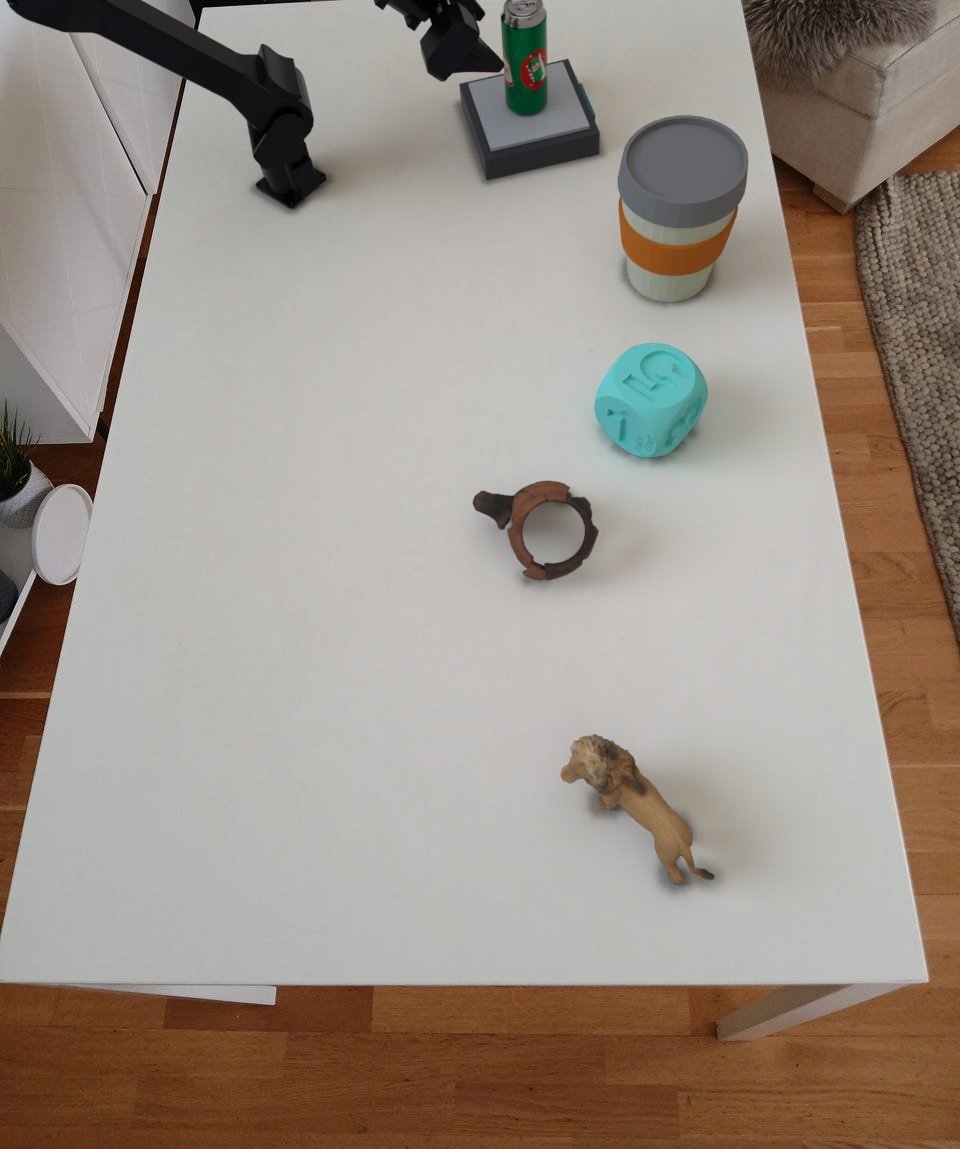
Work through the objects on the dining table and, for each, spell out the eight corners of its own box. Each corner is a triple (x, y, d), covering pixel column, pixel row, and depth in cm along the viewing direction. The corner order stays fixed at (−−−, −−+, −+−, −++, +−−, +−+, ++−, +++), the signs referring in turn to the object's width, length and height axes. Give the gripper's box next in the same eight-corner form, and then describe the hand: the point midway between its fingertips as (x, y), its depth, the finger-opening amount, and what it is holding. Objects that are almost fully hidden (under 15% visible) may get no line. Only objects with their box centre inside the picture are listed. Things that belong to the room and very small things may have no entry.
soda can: (507, 90, 111) (501, -10, 100) (548, 89, 110) (547, -11, 99) (504, 118, 109) (498, 20, 98) (546, 118, 108) (545, 19, 97)
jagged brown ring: (597, 495, 90) (614, 494, 82) (572, 587, 91) (587, 595, 83) (480, 463, 89) (486, 459, 81) (456, 556, 90) (459, 562, 82)
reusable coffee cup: (748, 264, 101) (778, 149, 87) (678, 334, 97) (697, 226, 84) (658, 212, 105) (673, 95, 91) (587, 277, 102) (592, 166, 88)
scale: (486, 180, 109) (484, 156, 106) (461, 104, 115) (458, 79, 112) (604, 153, 110) (605, 128, 107) (572, 79, 116) (573, 53, 113)
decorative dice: (591, 428, 93) (594, 380, 86) (640, 379, 95) (647, 328, 88) (653, 471, 90) (661, 425, 83) (703, 419, 92) (715, 370, 85)
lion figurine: (551, 788, 78) (550, 763, 70) (589, 740, 79) (592, 710, 71) (695, 904, 73) (712, 892, 65) (732, 851, 74) (753, 833, 66)
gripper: (447, -58, 82) (564, 33, 92) (407, -166, 90) (519, -71, 100) (377, 44, 89) (494, 118, 99) (346, -65, 97) (457, 14, 107)
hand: (492, 42), depth 101 cm, fingers open, 9 cm apart
